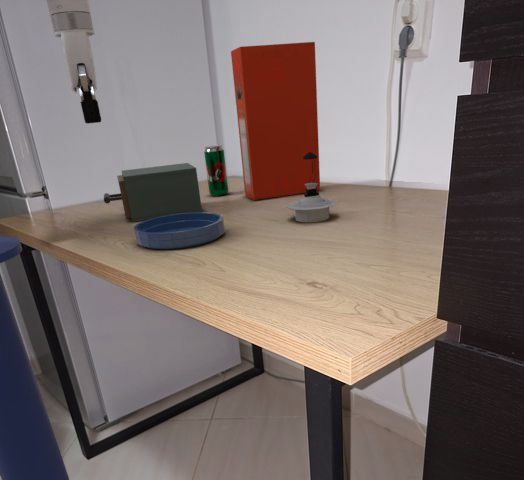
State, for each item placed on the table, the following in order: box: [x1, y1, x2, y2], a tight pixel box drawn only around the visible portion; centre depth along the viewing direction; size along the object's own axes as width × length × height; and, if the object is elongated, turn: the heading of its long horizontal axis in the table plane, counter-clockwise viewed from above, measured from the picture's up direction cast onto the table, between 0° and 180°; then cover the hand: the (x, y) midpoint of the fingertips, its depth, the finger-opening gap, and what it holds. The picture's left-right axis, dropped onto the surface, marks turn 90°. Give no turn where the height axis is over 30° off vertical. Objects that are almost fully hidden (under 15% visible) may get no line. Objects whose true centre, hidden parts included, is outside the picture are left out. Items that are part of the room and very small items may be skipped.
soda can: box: [204, 145, 229, 197], centre depth 129 cm, size 5×5×12 cm
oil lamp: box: [286, 151, 339, 223], centre depth 95 cm, size 12×10×10 cm
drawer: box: [103, 174, 132, 219], centre depth 113 cm, size 18×11×8 cm, turn 106°
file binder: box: [230, 41, 321, 201], centre depth 118 cm, size 8×17×32 cm, turn 109°
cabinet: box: [121, 162, 203, 223], centre depth 114 cm, size 16×13×10 cm
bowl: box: [133, 211, 226, 250], centre depth 91 cm, size 16×16×3 cm
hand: (93, 122), depth 105 cm, fingers open, 9 cm apart
